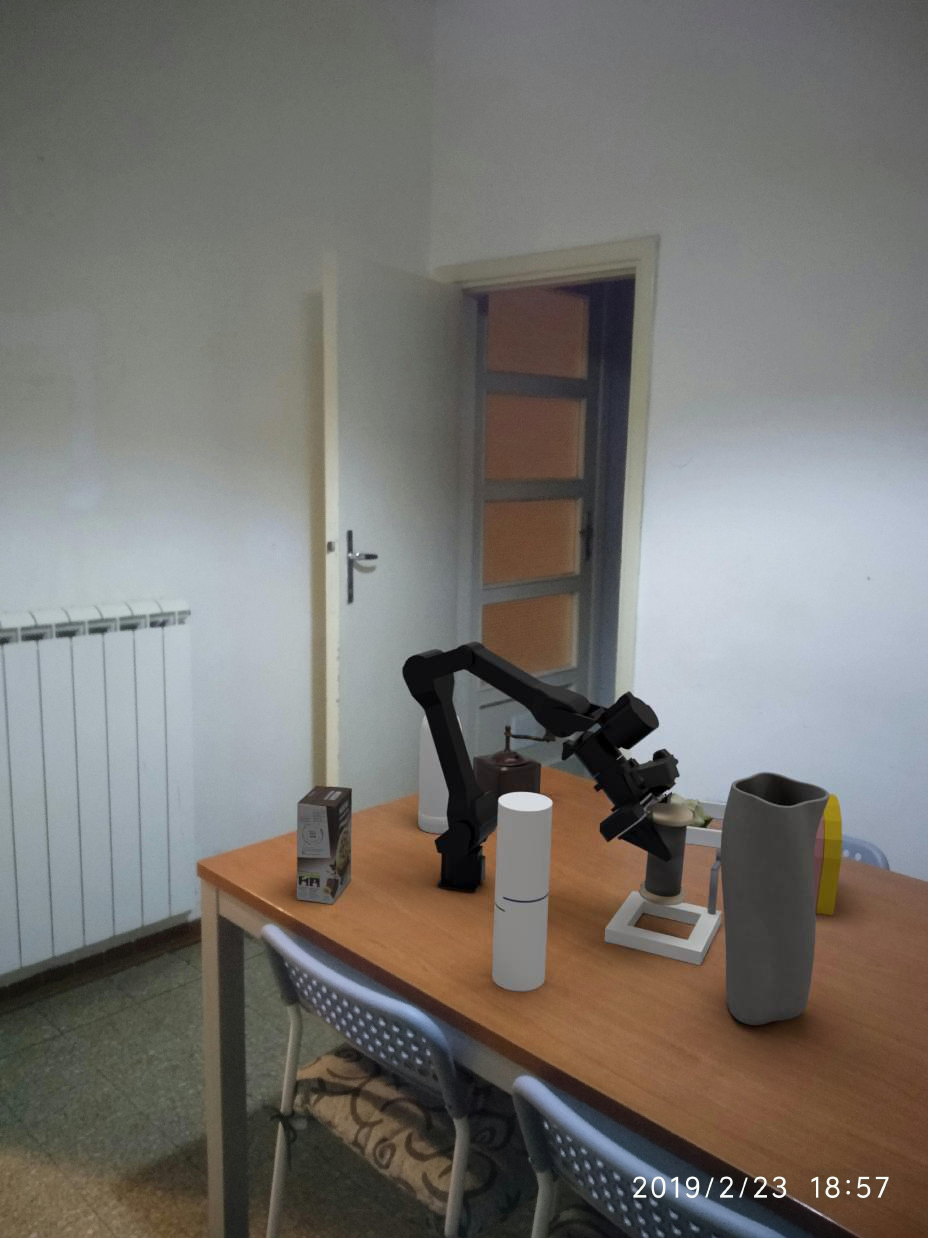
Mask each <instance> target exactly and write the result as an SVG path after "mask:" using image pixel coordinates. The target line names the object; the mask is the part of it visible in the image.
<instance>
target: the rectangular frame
mask: <svg viewBox="0 0 928 1238" xmlns="http://www.w3.org/2000/svg"><path fill="white" fill-rule="evenodd" d="M720 869H721V848H716V852H715V861H714V863H713V865H712V866H711V868H710V876H709V887H708V888H709V889H708V900H707V901H708V903H707V907H704V906H700V905H695V904H691V903H688V902H687V903H686V902H683V903H681V904H678V905H672V906H666V905H658V904H654V903H651V902H649V901H647V900H645V899H644V898H642V897H641V896H640V893H639V891H634V890H632V891H631V892H630V894H629V895H628V896H627V898H626V899H625V901H624V902H623V903H622V905H621V906H620V908H619V909H618V910H617V912H616V913H615V914H614V916H613V917H612V918H611V920H610V921H609V923H607V925H606V927H605V928H604V942H606V943H609V944H610V943H611V944H614V945H619V946H623V947H627V948H631V949H634V950H638V951H642V952H647V953H651V954H652V955H653V954H654V955H658V956H662V957H666V958H669V959H673V960H677V961H682V962H686V963H689V964H693V965H698V966H701V965H702V963H703V961H704V959H705V957H706V955H707V952H708V950H709V948H710V946H711V944H712V942H713V941H714V938H715V936H716V934H717V932H718V930H719V928H720V926H721V922H722V911H721V910H717V900H718V899H717V898H718V890H719V889H718V887H719V875H720V874H719V873H720ZM643 914H646V915H650V916H655V917H660V918H663V919H667V918H668V920H672V921H675V920H676V921H675V922H679V923H685V924H690V925H693V926H694V927H693V929H692V931H691V932H690V935H689V937H688V939H685V938H680V937H676V936H672V935H668V934H664V933H661V932H656V931H652V930H649V929H644V928H639V927H636V926H635V925H636V924H637V922H638V921H639V919H640V918H641V917H642V915H643Z"/></svg>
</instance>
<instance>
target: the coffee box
mask: <svg viewBox="0 0 928 1238" xmlns="http://www.w3.org/2000/svg"><path fill="white" fill-rule="evenodd" d="M352 791H353V789H352V788H351V787H344V786H343V787H342V786H341V787H340V786H332V785H331V786H326V785H324V786H323V785H315V786H314V787H313V788H312V789H311V790H310V791H309V792H308V793H307V794H306V795H304V797H302V798H301V799H300V800H299V801H297V807H296V808H297V809H296V811H297V814H296V815H297V817H296V818H297V820H296V823H297V824H296V825H297V826H296V827H297V829H296V832H297V833H296V836H297V837H296V899H297V900H300V901H308V902H313V903H320V904H329V905H333V904H335V902H336V901H337V899H338V898H339V897H340V895H342V893H343V891H344V890H345V889H346V888H347V886H348V885H349V883H350V882H351V881H352V819H353V817H352V814H353V813H352V811H353V809H352V808H353V807H352V806H353V804H352V802H353V800H352V799H353V796H352V795H353V793H352Z"/></svg>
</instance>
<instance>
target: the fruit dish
mask: <svg viewBox="0 0 928 1238" xmlns="http://www.w3.org/2000/svg"><path fill="white" fill-rule="evenodd" d="M697 800H698V801H699V802H700V805H701V806H702V808H703V810H704V811H705V813H707V814H708V815H710V816H711V817H712V818H713V819H718V820H723V819H724V813H725V808H726V804H727V802H726V803H724V802H716V801H710V800H699V799H697ZM721 834H722V829H720V830H719V829H712V828H707V829H706V828H698V827H691V826H687V831H686V841H685V844H689V845H697V846H703V847H711V848H716V849H721Z"/></svg>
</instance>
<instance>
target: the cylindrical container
mask: <svg viewBox="0 0 928 1238" xmlns="http://www.w3.org/2000/svg"><path fill="white" fill-rule="evenodd" d="M552 822H553V800H552V799H551V798H549V797H548V796H546V795H543V794H541V793H540V794H536V793H530V792H514V793H508V794H505V795H502V796H501V797H500V798H499V799H498V822H497V827H496V852H495V853H496V854H495V884H494V912H493V913H494V915H493V940H492V941H493V942H492V943H493V944H492V966H491V967H492V970H491V971H492V972H491V975H492V976H491V977H492V980H493V982H494V983H495V984H496V985H497V986H498V987H501V988H503V989H505V990H508V991H512V992H529V991H534V990H537V989H538V988H540V987H541V986H542V985H544V982H545V978H546V960H547V959H546V957H547V940H548V939H547V937H548V936H547V935H548V914H549V913H548V912H549V890H550V887H549V886H550V870H551V869H550V868H551V851H552V850H551V846H552V845H551V844H552V827H553V826H552V824H553V823H552Z"/></svg>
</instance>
